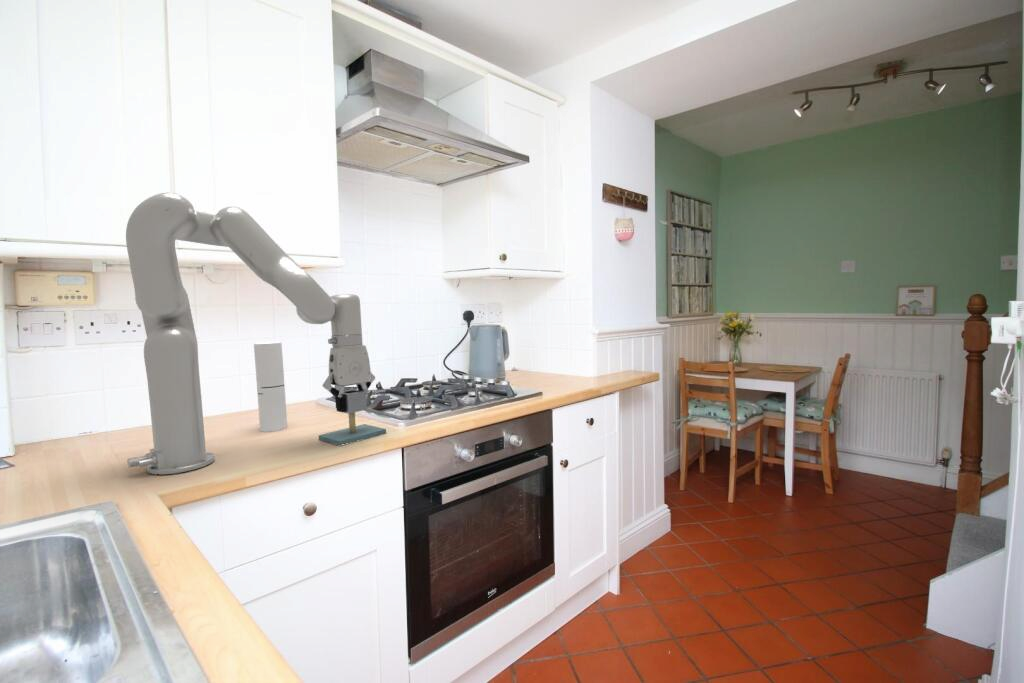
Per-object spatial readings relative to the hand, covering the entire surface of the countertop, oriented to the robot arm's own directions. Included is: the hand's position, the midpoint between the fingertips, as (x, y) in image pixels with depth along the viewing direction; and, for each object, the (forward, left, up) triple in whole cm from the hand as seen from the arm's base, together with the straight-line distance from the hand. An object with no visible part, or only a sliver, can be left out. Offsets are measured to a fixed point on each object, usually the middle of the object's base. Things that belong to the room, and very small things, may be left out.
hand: (351, 408), depth 129 cm
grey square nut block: (0, 0, 0) cm, 0 cm away
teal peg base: (0, 0, -8) cm, 8 cm away
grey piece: (-8, +28, -8) cm, 30 cm away
